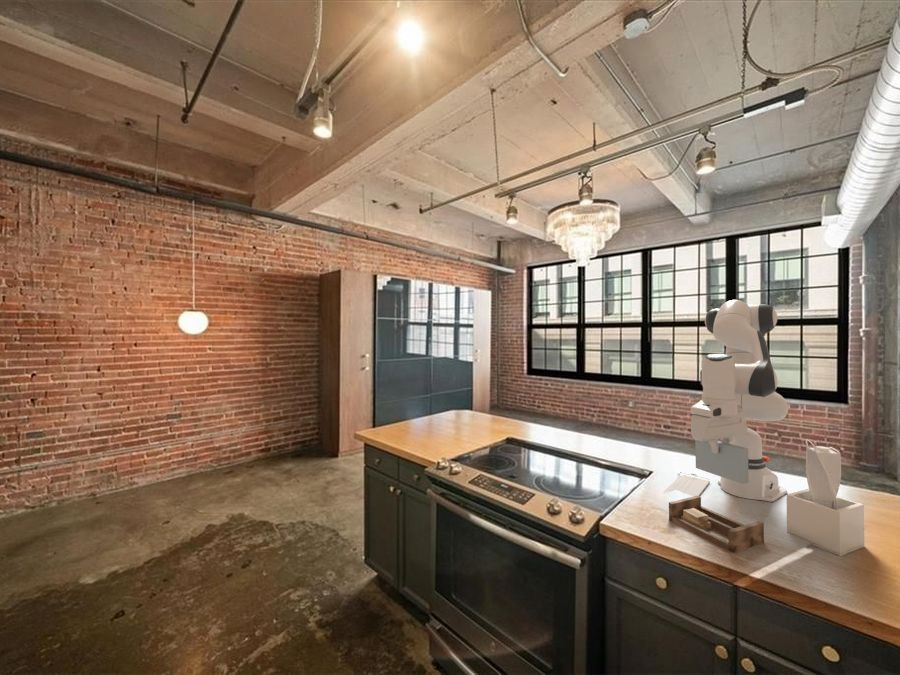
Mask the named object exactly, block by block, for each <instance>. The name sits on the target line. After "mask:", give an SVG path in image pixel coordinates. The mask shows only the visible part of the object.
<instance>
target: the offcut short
mask: <svg viewBox="0 0 900 675" xmlns="http://www.w3.org/2000/svg"><path fill="white" fill-rule="evenodd" d="M683 516H684V517H686V518H688V519H689V520H691V521H693V522H695V523H697V524H700V523H705V522H708V515H706V514H704V513H702V512H700V511H698V510H696V509H695V508H691V509H686V510H683Z"/></svg>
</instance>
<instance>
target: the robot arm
mask: <svg viewBox="0 0 900 675" xmlns="http://www.w3.org/2000/svg"><path fill="white" fill-rule="evenodd" d="M777 323H778V314H777V311H776V310H775V309H774V306H772V305H770V304H764V303H760V304H748V303H747V302H745V301H743V300H738V299H732V300H728V301H726V302H724V303H723V304H721V306H720V307H717V308H712V309H710V310H709V311H708V312H707V313H706V316H705V319H704V324H705V327H706V330H707V331H708V332H709V333H711V334H712V335H713V337H714V339H715V340H716V341H717V342H718V343H720V344H721V345H723V346H724V347H725V353H711V354H707V355H705V356H704V357H703V360H702V365H701V370H700V373H699V377H700V378H699V379H700V380H699V381H700V385H701V386H702V393H701V400H699V401H698V402H697V403H695V404H693V405H691V406H690V411H689V412H690V413H691V414H692V415H691V418H690V433H691V437H692V438H693V439H694V440H698V441H703V442H705V441H708V442H709V444H710V446H711V451H712V452H713V453H720V447H718V445H717V442H718V441H719V440H721V439H722V441H721V442H724V443H728V444H732V445H736V446H740V447H744V448H748V473H749V483H746V484H741V483H738V482H735V481H732V480H729V479H726V478H723V477H721V476H720V479H718V480H717V483H718V484H719V485H720V489H722V490H723V491H724V492H726V493H727V494H730V495H732V496H736V497H740V498H743V499H749V500H758V501H763V502H771V503H773V502H775V501H777V500H778V499H780V498H781V497H783V496H784V495H785V494H786V495H787V493H788V490H787V489H786V488H784V487H782V486H780V485H779V477H778V475H776V474H775V472H772V470H770V469H769V468H768V467H767V465H766V464H767V463H769V462H770V460H771V459H770V457H769V456H765V455H763V439H762V437H761V435H760V434H759V433H758V432H757V431H755V430H754V429H752V428H749V427H748V425H747V420H749V421H750V420H751V421H758V422H777V421H780V422H781V421H782V420H783V419H784V418H786V416H787V415H788V413H789V404H788V402H787V400H786V398H784V397H783V395H781V394H780V393H778V392H777V390H776V389H777V387H778V376H777V374H776V371H775V370H774V368H773V365H772V361H771V360H772V359H771V357H770V353H769V349H768V344H767V342H766V338H765V336H766V334H769V333H770V332H771V331H773V330H774V329H775V327H776V325H777Z"/></svg>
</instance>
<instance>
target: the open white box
mask: <svg viewBox="0 0 900 675" xmlns="http://www.w3.org/2000/svg"><path fill="white" fill-rule="evenodd" d="M785 496H786V531H787V532H786V533H787V534H790V535H792V536H794V537H798V538H799V539H802V540H804V541H808V542H810V545H812V546H815V547H817V548H819V549H822V550H825V551H826V552H827V551H828V552H829V553H832V554H834V555H836V556H839V557H841V556H844V555H846V554H849V553H851V552H854V551H856V550H859V549H862V548H865V504H863V503H861V502H859V501H858V502H857V501H854V500H850V499H848V498H844V497H840V496H838V495H837V496H836V499H837V503H838V508H839V509H838V510H835V509H832V508H829V507H826V506H823V505H820V504H817V503H814V502H811V501H810V491H809V488H806V489H802V490H798V491H795V492H792V493H789V494H787V493H786V495H785Z"/></svg>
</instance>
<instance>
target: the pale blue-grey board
mask: <svg viewBox="0 0 900 675" xmlns="http://www.w3.org/2000/svg"><path fill="white" fill-rule="evenodd" d="M694 440H695V439H694ZM694 442H695V444H694V446H695V449H694V450H695V451H694V452H695V469H697V470H701V471H704V472H706V473H710V474H712V475H715V476H718V477H720V478H721V477H723V478H726V479H729V480H732V481H735V482H738V483H741V484H746V483H749V473H748V448H744V447H740V446H736V445H732V444H728V443H724V442H722V441H720V440H718V442H717V445H718V447H720V453H713V452H712V451H711V446H710V444H709V442H708V441H705V442H703V441H698V440H695V441H694Z"/></svg>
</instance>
